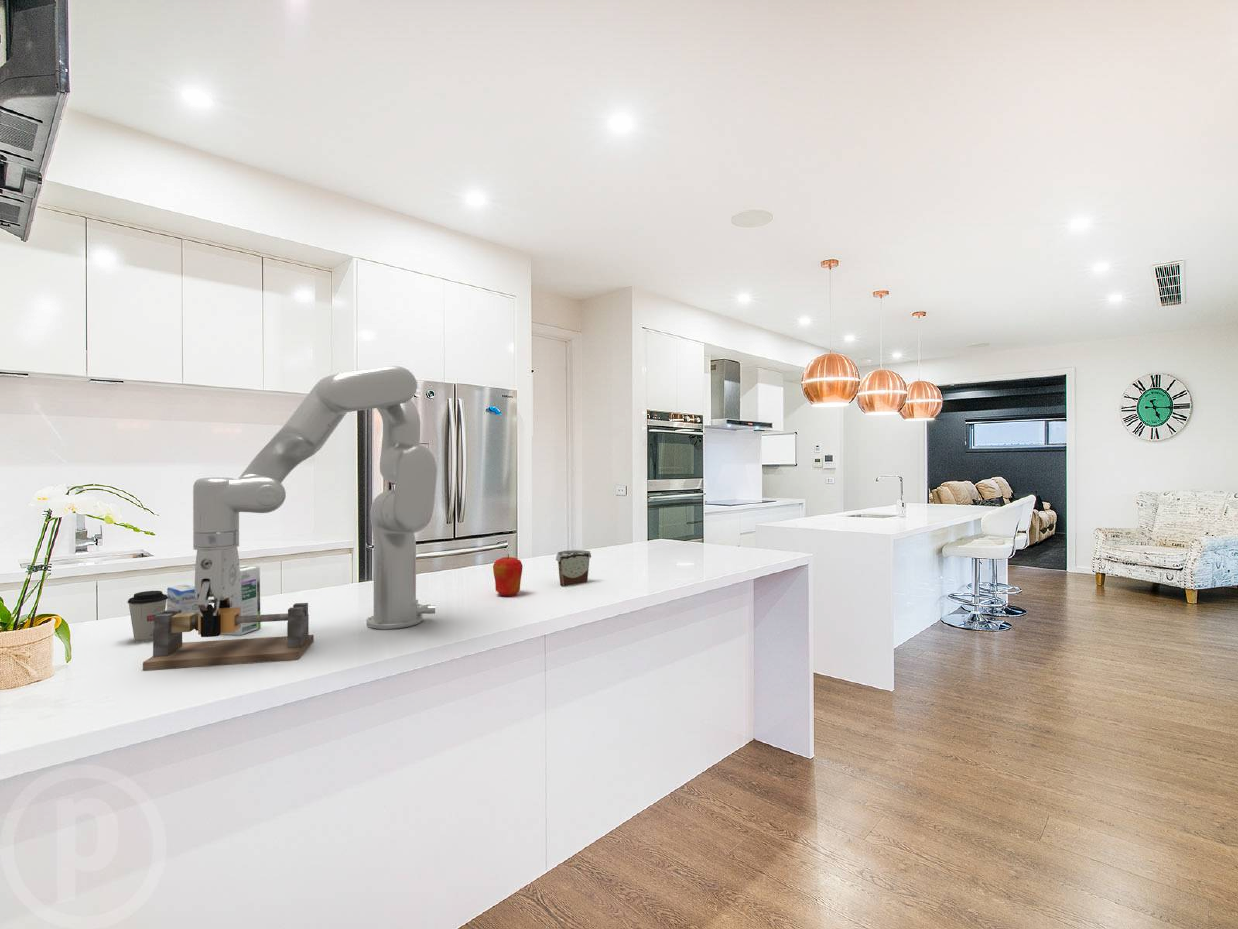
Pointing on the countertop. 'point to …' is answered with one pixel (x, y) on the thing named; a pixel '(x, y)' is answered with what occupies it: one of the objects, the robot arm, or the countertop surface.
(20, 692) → the countertop surface
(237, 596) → the syrup box
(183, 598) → the medicine box
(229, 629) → the sleeve
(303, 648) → the rail
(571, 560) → the food container
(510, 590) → the apple
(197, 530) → the robot arm
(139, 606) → the black-capped travel mug
